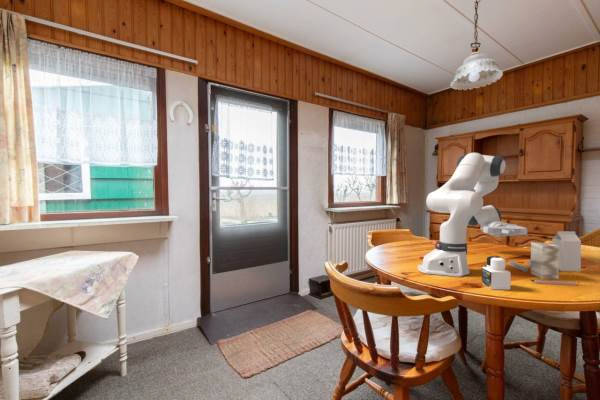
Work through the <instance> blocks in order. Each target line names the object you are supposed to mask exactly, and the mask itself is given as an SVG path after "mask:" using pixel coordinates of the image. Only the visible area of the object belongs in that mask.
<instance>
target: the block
mask: <svg viewBox="0 0 600 400" xmlns="http://www.w3.org/2000/svg"><path fill="white" fill-rule="evenodd" d="M530 262H531V267H530V274H531V275H534V276H535V277H537V278H540V279H541V280H560V277H559V276H560V273H559V272H560V270H559V246H556V245H553V244H552V243H548V242H530Z"/></svg>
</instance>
